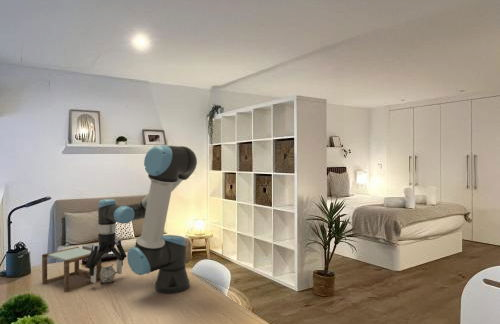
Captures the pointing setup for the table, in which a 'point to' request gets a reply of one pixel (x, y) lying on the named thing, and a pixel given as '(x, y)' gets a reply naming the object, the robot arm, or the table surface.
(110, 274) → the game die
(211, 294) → the table surface
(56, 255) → the chair seat
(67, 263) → the frame
